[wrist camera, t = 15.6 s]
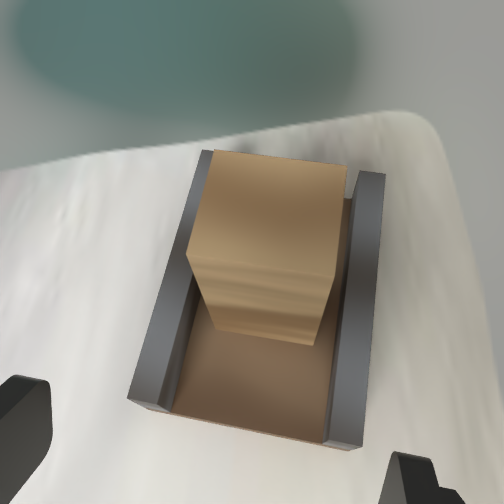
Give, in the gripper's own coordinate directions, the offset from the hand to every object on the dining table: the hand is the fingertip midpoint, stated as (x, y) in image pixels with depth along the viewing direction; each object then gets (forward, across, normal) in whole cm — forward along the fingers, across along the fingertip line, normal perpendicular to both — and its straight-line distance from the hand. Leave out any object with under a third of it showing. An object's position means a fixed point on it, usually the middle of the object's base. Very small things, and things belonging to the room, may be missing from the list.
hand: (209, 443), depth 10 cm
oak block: (+11, 0, +1) cm, 11 cm away
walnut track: (+12, 0, +2) cm, 12 cm away
